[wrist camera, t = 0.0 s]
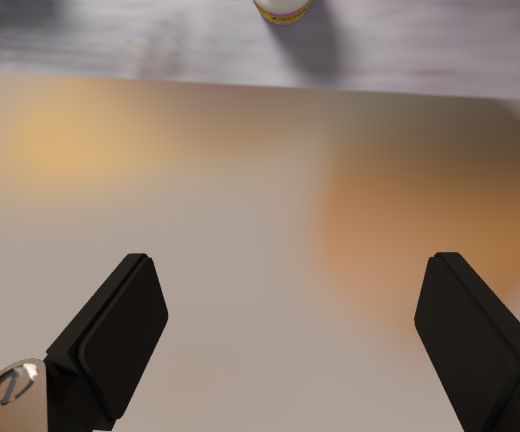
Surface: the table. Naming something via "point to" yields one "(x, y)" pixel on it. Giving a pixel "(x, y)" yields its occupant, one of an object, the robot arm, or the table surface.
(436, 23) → the table surface
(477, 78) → the table surface
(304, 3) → the supplement bottle
